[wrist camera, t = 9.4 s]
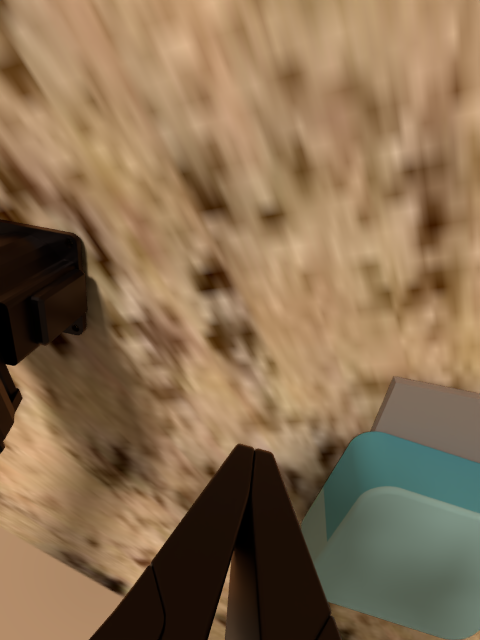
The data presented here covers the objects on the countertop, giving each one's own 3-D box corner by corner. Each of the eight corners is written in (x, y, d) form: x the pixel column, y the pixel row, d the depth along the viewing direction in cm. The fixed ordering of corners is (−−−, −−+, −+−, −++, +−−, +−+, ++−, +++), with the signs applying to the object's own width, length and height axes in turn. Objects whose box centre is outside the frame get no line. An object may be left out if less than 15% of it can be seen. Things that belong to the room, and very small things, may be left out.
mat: (320, 548, 31) (320, 555, 30) (393, 376, 22) (396, 382, 21) (473, 583, 30) (476, 591, 29) (610, 419, 21) (618, 427, 21)
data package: (295, 529, 29) (439, 575, 29) (294, 592, 25) (461, 646, 25) (360, 422, 23) (540, 480, 23) (372, 483, 19) (589, 553, 19)
